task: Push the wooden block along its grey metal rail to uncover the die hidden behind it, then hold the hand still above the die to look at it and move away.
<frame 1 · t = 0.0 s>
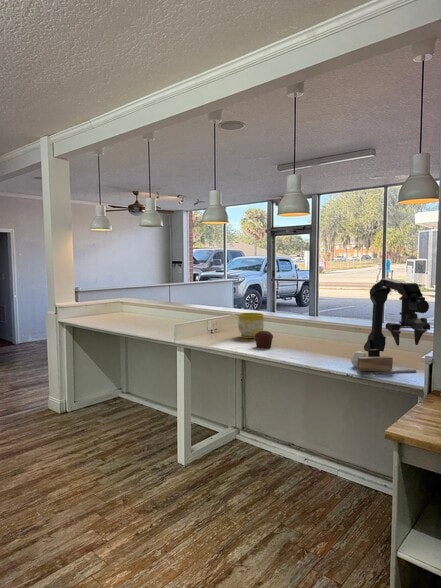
hand: (407, 345, 185), 15 cm above the table, tool pointing down, fingers open, 9 cm apart
rail: (386, 372, 195), on the table
muffin: (263, 347, 254), on the table
flowerpot: (250, 337, 289), on the table
wooden block: (375, 363, 194), point 4 cm above the table, slide at 0.0 cm
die: (359, 367, 205), on the table
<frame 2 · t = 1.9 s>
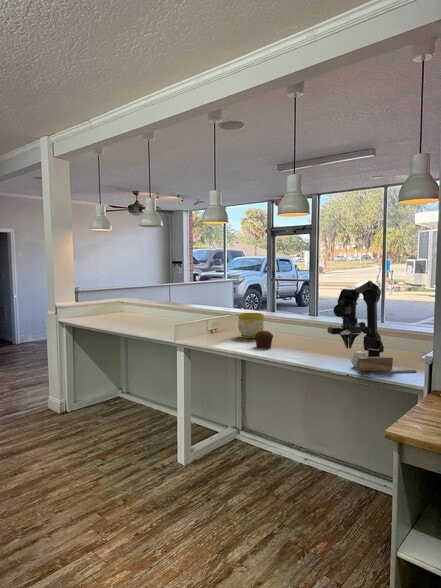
hand: (348, 348, 191), 12 cm above the table, tool pointing down, fingers closed
nothing on the table moved.
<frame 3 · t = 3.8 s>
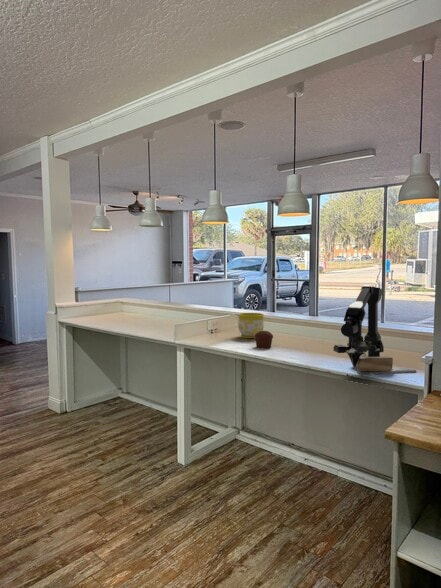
hand: (354, 366, 192), 3 cm above the table, tool pointing down, fingers closed
wooden block: (375, 363, 194), point 4 cm above the table, slide at 0.0 cm, touching gripper
everything else where it was.
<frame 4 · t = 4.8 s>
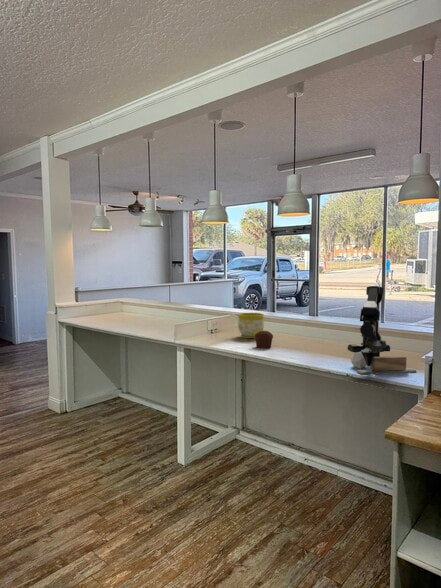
hand: (368, 365, 193), 3 cm above the table, tool pointing down, fingers closed
wooden block: (388, 363, 195), point 4 cm above the table, slide at 7.1 cm, touching gripper
everything else where it was.
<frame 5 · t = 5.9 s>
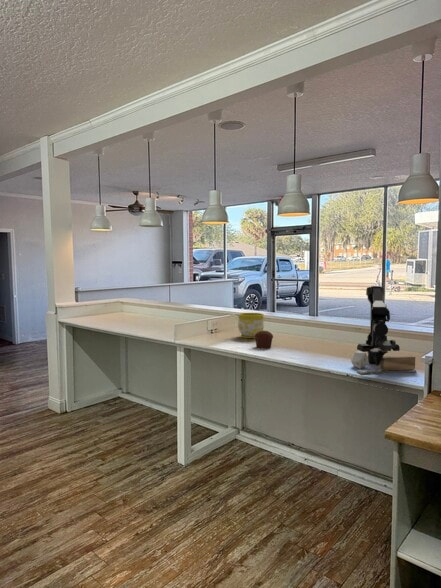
hand: (377, 365, 194), 3 cm above the table, tool pointing down, fingers closed
wooden block: (397, 362, 196), point 4 cm above the table, slide at 11.7 cm, touching gripper
everything else where it was.
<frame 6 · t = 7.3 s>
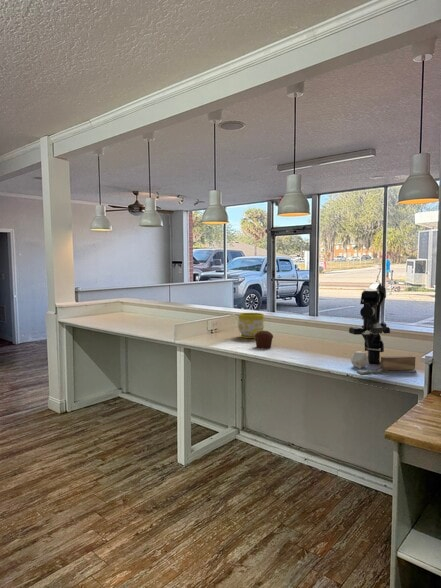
hand: (369, 347, 199), 11 cm above the table, tool pointing down, fingers closed
wooden block: (397, 362, 196), point 4 cm above the table, slide at 11.7 cm
everything else where it was.
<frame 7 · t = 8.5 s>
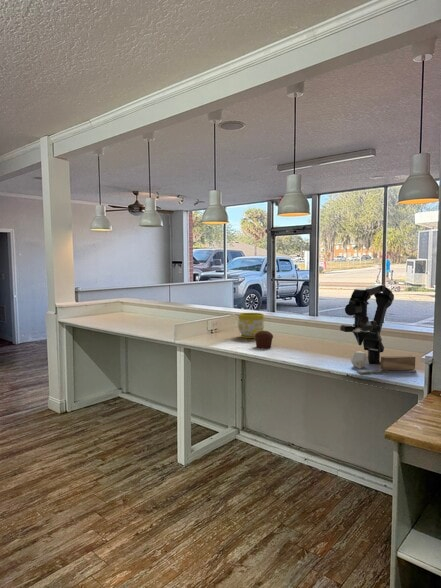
hand: (359, 345, 204), 11 cm above the table, tool pointing down, fingers closed
nothing on the table moved.
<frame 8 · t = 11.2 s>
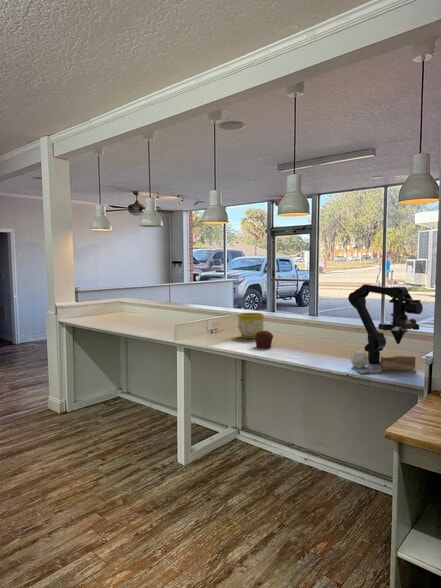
hand: (398, 343, 203), 12 cm above the table, tool pointing down, fingers closed
nothing on the table moved.
at the end: wooden block slide at 11.7 cm; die moved 0.2 cm from its start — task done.
